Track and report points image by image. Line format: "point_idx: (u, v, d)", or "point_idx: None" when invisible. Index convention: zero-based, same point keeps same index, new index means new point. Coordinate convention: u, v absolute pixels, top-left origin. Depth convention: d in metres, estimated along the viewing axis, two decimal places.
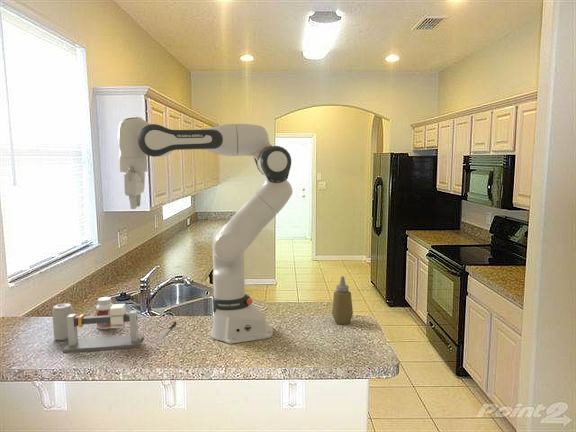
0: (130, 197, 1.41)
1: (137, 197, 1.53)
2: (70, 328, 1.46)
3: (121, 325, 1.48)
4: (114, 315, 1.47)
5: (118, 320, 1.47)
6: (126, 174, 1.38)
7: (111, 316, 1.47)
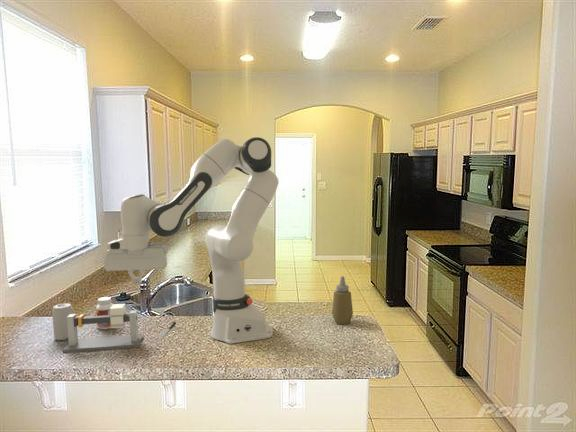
0: (143, 271, 1.48)
1: (132, 273, 1.48)
2: (70, 328, 1.46)
3: (121, 325, 1.48)
4: (114, 315, 1.47)
5: (118, 320, 1.47)
6: (162, 249, 1.48)
7: (111, 316, 1.47)
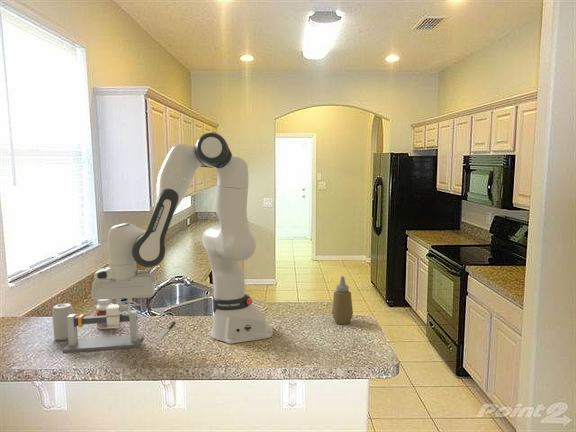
0: (131, 299, 1.49)
1: (119, 301, 1.49)
2: (70, 328, 1.46)
3: (117, 325, 1.47)
4: (110, 315, 1.47)
5: (114, 320, 1.47)
6: (150, 277, 1.49)
7: (107, 316, 1.47)
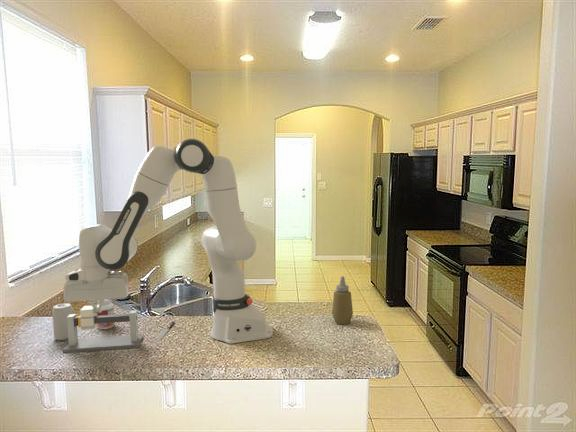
0: (103, 301, 1.47)
1: (94, 303, 1.48)
2: (70, 328, 1.46)
3: (91, 327, 1.46)
4: (84, 317, 1.45)
5: (88, 322, 1.46)
6: (123, 279, 1.47)
7: (81, 318, 1.45)
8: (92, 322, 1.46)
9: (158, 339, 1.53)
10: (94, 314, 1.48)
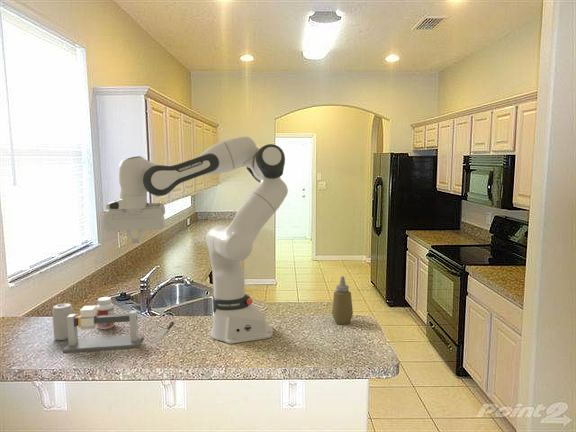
0: (142, 231, 1.53)
1: (131, 234, 1.53)
2: (70, 328, 1.46)
3: (91, 327, 1.46)
4: (84, 317, 1.45)
5: (88, 322, 1.46)
6: (160, 210, 1.52)
7: (81, 318, 1.45)
8: (92, 322, 1.46)
9: (157, 339, 1.53)
10: (94, 314, 1.48)
